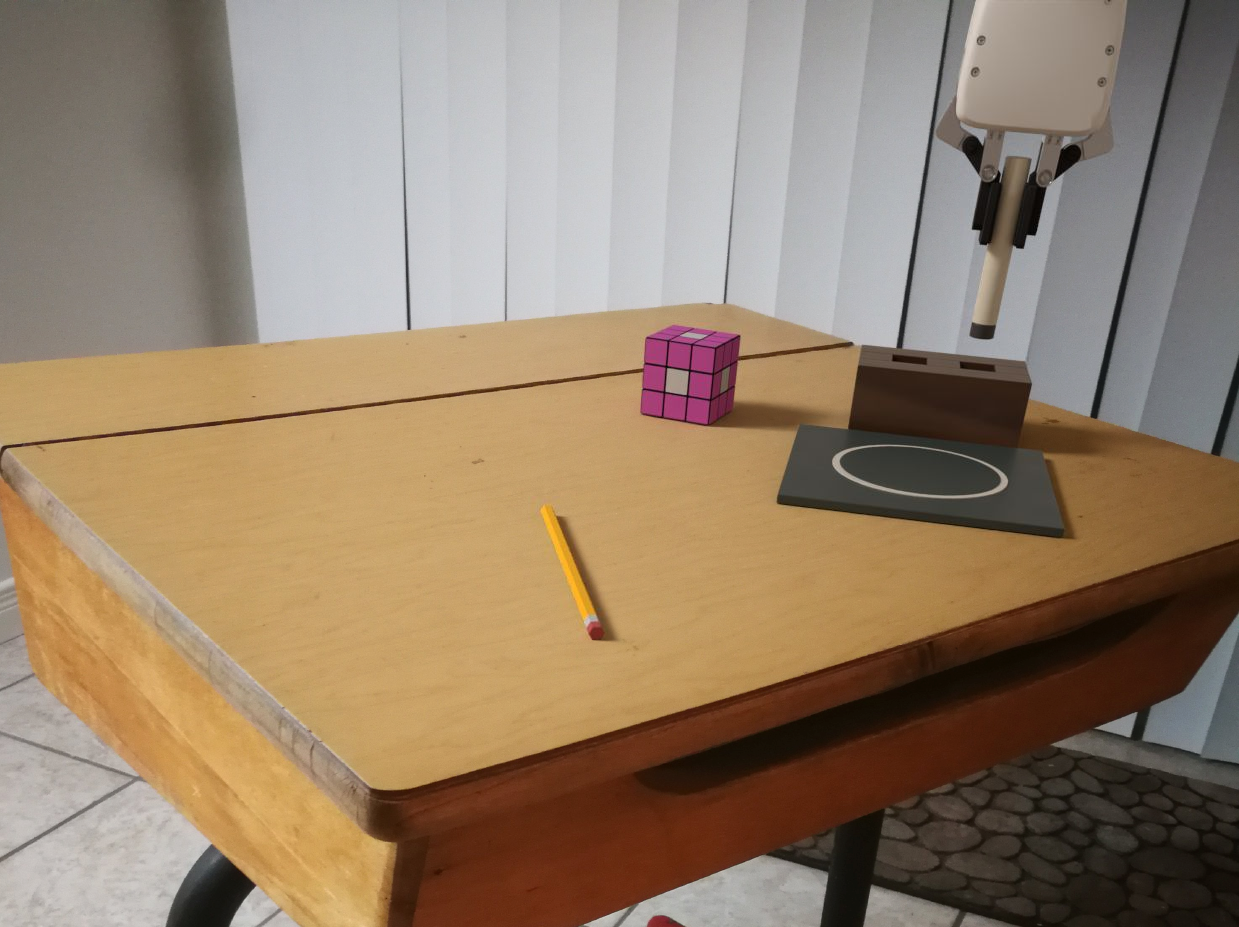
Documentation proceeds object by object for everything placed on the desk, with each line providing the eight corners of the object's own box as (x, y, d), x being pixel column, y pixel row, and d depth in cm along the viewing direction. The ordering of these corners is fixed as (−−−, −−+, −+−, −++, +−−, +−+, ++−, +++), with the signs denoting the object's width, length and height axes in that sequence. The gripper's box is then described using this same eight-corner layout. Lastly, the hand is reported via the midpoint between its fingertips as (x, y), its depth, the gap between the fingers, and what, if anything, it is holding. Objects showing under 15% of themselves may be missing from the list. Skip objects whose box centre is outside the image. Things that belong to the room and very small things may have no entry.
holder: (851, 408, 105) (861, 344, 102) (1010, 425, 103) (1025, 361, 100) (847, 432, 98) (857, 364, 96) (1016, 451, 96) (1032, 383, 94)
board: (1040, 458, 95) (1042, 448, 95) (1062, 537, 80) (1065, 526, 80) (798, 431, 98) (799, 421, 97) (776, 503, 83) (777, 492, 82)
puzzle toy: (666, 398, 104) (672, 324, 101) (733, 409, 102) (741, 334, 99) (639, 413, 99) (644, 336, 96) (708, 426, 98) (716, 347, 94)
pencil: (588, 640, 63) (588, 627, 63) (540, 515, 78) (540, 504, 78) (604, 639, 63) (604, 626, 63) (553, 515, 78) (553, 504, 78)
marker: (992, 335, 97) (1031, 157, 90) (993, 340, 96) (1032, 159, 89) (968, 333, 97) (1005, 154, 91) (969, 338, 96) (1006, 157, 89)
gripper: (1182, -55, 85) (1106, 247, 95) (941, -71, 87) (891, 227, 97) (1203, -62, 79) (1119, 263, 89) (942, -78, 81) (889, 240, 91)
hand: (1001, 242), depth 93 cm, fingers closed on marker, 1 cm apart
